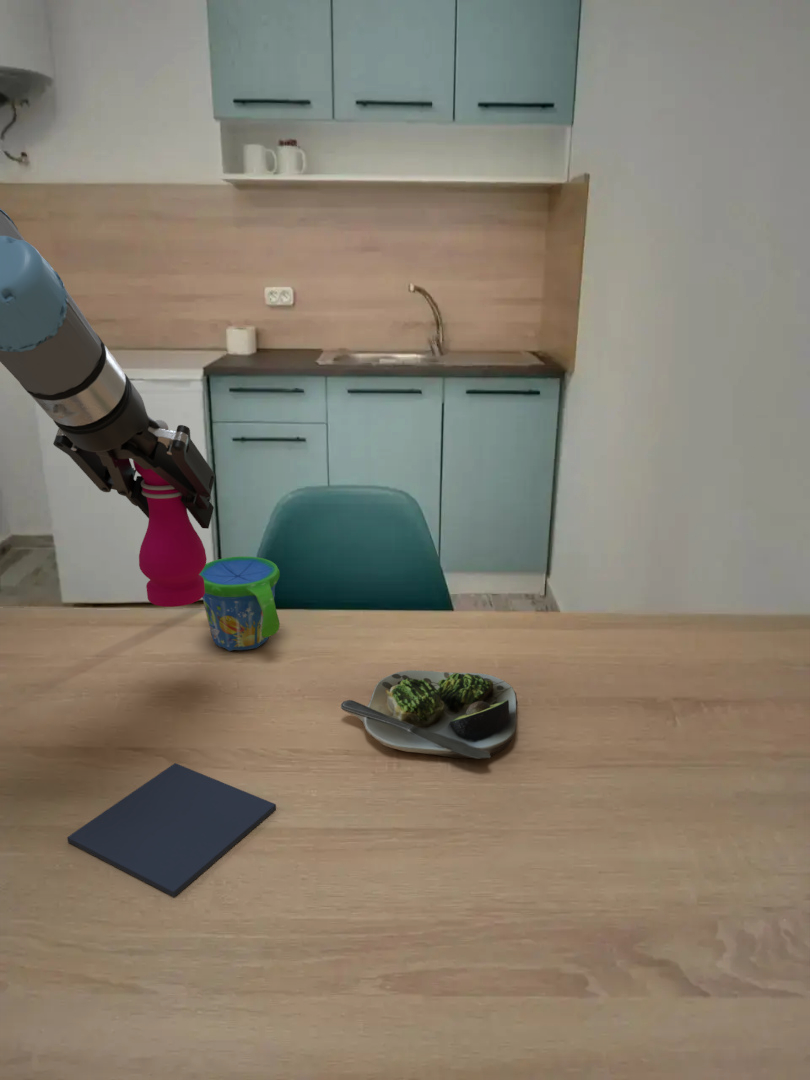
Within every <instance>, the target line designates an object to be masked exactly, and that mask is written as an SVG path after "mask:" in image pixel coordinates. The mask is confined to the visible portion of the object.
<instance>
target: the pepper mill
mask: <svg viewBox="0 0 810 1080" xmlns="http://www.w3.org/2000/svg"><path fill="white" fill-rule="evenodd" d="M155 421H156V422H157V423H158V424H159V425H160V428H161V429H166V430H169V426H168V423H167V422H166V421H164V420H162V419H157V420H155ZM132 462H133V466H134V467H133V468H134V470H135V469H136V473H137V474H138V475H139V476H142V477H143V479H144V480H143V481H142V482H141V486H142V495H144V496H146V497H147V502H148V506H149V518H148V521H147V522H148V523H147V528H146V531H145V535H144V536H143V540H142V542H141V544H140V549H139V554H138V566H139V570H140V571H141V574H143V575H144V576H145V577H146V578H147V579H149V580H148V581H147V583H146V586H145V588H146V596H147V600H148V602H149V603H151V604H152V605H154V606H158V607H163V608H175V607H183V606H188V605H191V604H194V603H196V602H198V601H200V600H202V599H203V598H202V597H203V596H204V594H205V586H204V579H203V577H202V576H200V575H199V574H200V573H201V571H202V570H203V569H204V567H205V565H206V564H207V559H208V558H207V553H206V549H205V546H204V544H203V541H202V539H201V537H200V536H199V534H198V532H197V531H196V530H195V528H194V526H193V524H192V522H191V519H190V517H189V514H188V509H187V508H186V507H185V505H184V504H183V503H182V502H181V498H182V494H181V493H180V492H179V491H177V490H176V489H175V488H174V487H173V486H171V485H170V484H169V483H168V482H166V481H165V480H164V479H163V478H161V477H160V476H159V475H158V474H157V473H155V472H154V471H153V470H152V469H144V468H142V467H141V466H140V465H139V464H137V463H136V462H135V461H134V460H132Z"/></svg>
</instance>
